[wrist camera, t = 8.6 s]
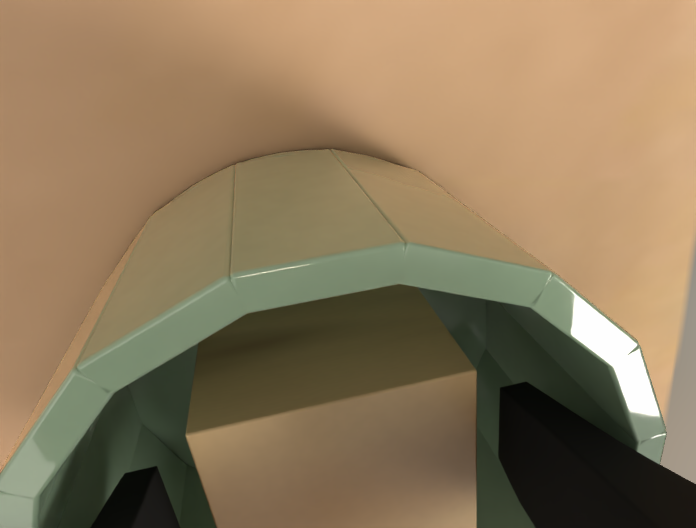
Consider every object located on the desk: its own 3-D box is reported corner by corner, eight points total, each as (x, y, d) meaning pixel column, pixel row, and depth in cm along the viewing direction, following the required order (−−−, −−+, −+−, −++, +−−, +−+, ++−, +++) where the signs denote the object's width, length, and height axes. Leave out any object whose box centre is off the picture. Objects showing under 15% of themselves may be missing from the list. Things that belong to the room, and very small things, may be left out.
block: (408, 404, 15) (477, 556, 11) (244, 441, 15) (246, 619, 10) (397, 257, 13) (478, 370, 9) (204, 293, 12) (183, 435, 8)
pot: (495, 446, 17) (620, 647, 12) (166, 526, 16) (124, 801, 10) (502, 117, 12) (724, 183, 7) (32, 190, 11) (-192, 352, 5)
